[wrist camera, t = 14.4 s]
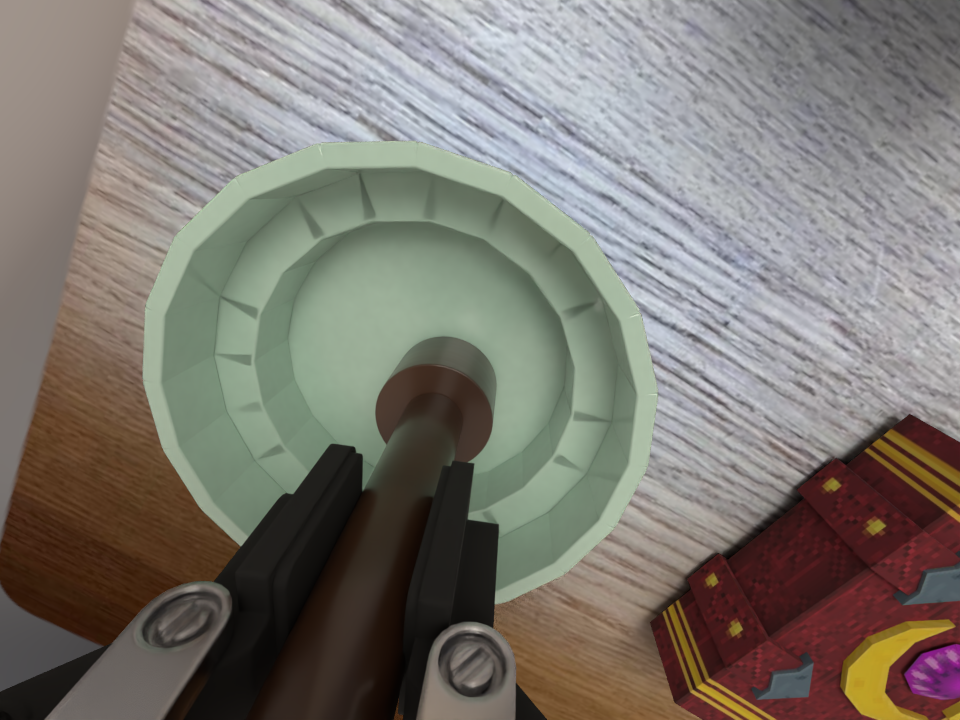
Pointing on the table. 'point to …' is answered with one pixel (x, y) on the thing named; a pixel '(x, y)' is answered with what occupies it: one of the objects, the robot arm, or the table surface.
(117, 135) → the table surface
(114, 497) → the table surface
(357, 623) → the brown wooden handle
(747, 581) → the decorative book
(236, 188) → the bowl
